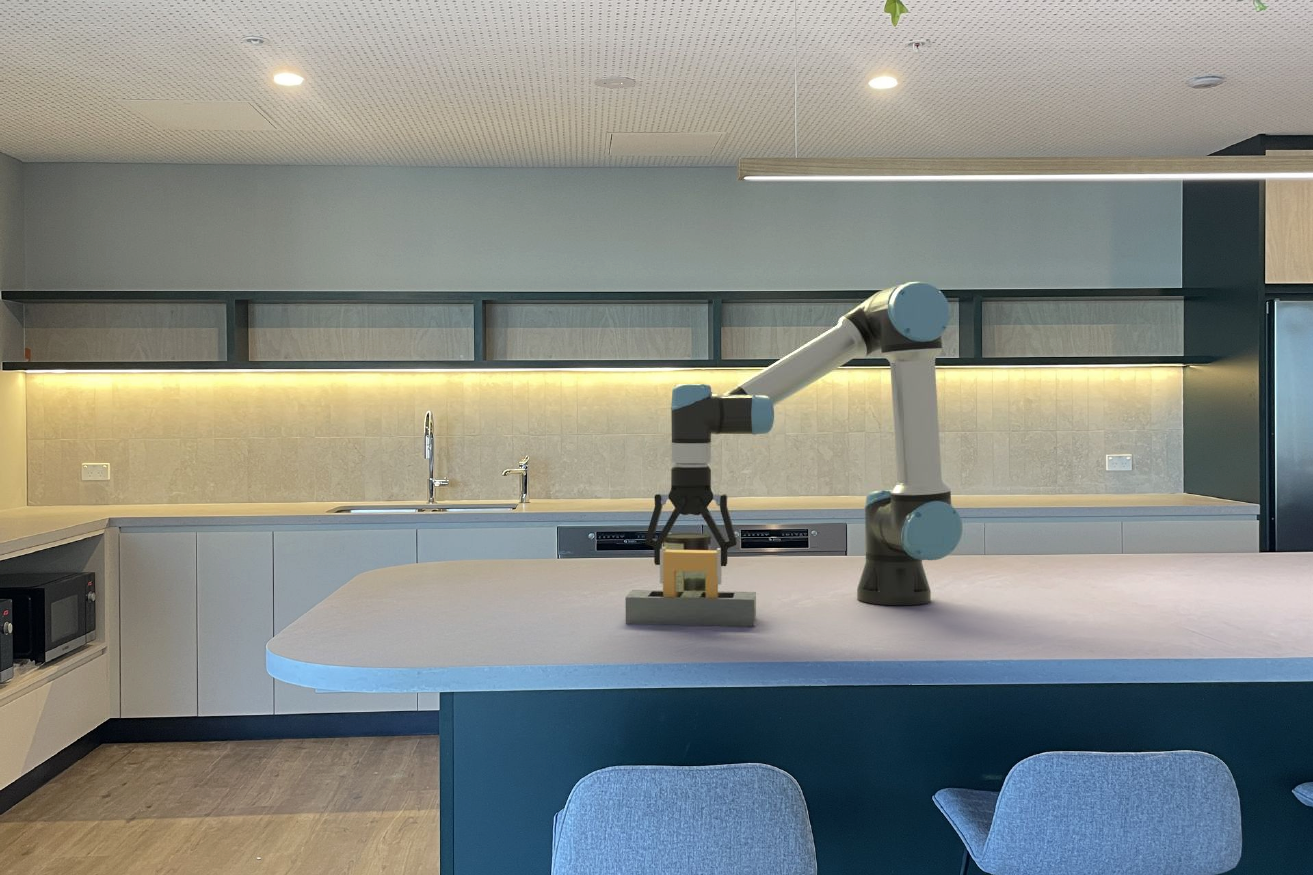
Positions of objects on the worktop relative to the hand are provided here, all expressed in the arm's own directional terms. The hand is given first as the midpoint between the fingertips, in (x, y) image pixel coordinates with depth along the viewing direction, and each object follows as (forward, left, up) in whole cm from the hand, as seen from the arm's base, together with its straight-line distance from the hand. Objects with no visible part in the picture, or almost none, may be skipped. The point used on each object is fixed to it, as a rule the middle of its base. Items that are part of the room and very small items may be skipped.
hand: (690, 582), depth 203 cm
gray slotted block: (0, 0, -7) cm, 7 cm away
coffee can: (+3, -20, -8) cm, 21 cm away
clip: (0, 0, -4) cm, 4 cm away
